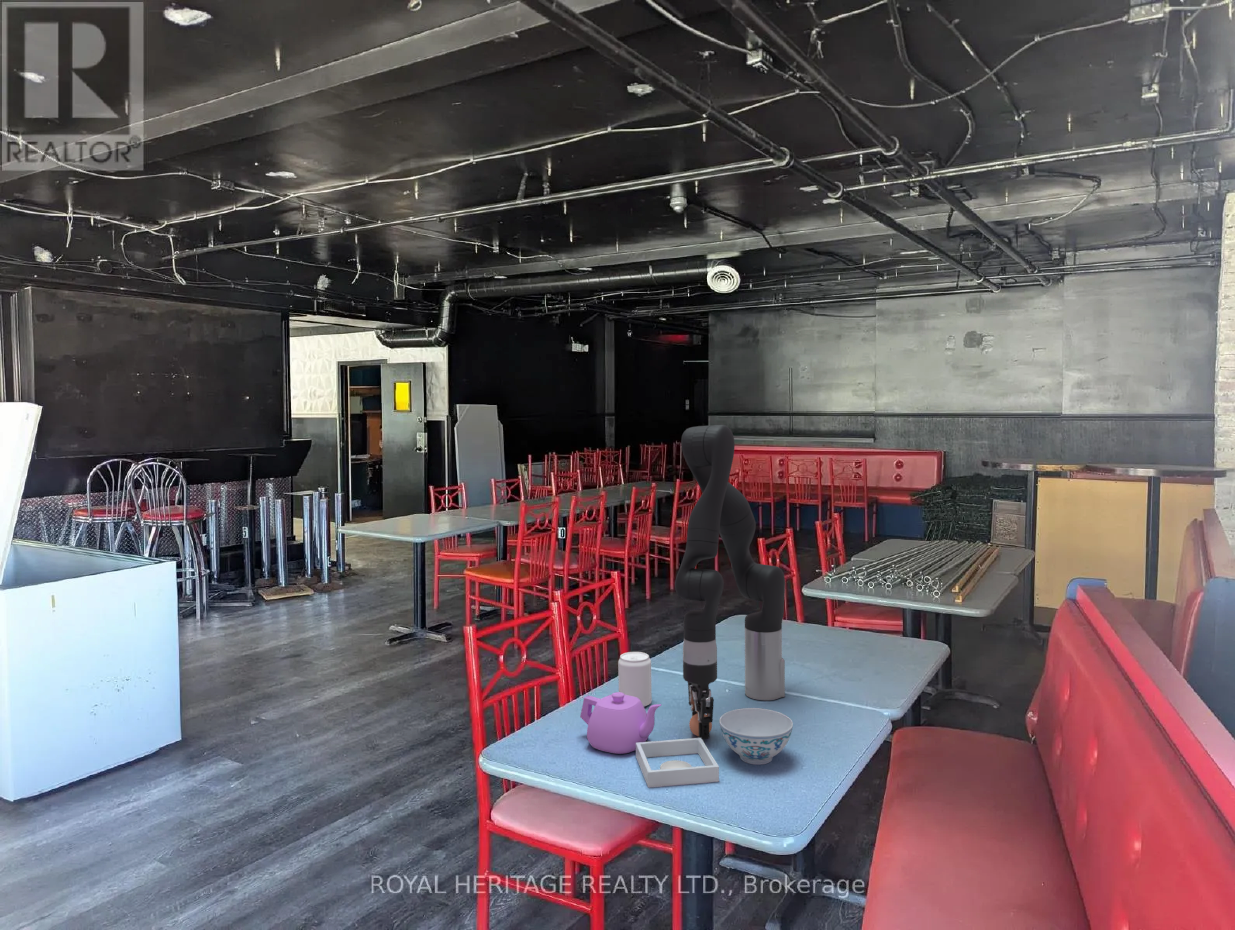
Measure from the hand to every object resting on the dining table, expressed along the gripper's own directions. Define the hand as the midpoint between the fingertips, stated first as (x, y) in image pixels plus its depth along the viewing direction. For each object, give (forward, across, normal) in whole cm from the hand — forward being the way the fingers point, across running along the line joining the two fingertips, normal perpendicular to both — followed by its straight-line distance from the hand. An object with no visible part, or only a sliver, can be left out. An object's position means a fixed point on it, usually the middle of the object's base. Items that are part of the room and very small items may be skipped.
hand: (700, 732), depth 177 cm
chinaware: (+1, -13, -8) cm, 15 cm away
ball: (+1, 0, 0) cm, 1 cm away
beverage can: (+1, +22, +11) cm, 25 cm away
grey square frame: (+1, -15, +9) cm, 18 cm away
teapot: (+1, -1, +18) cm, 18 cm away
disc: (+1, -15, +9) cm, 18 cm away
